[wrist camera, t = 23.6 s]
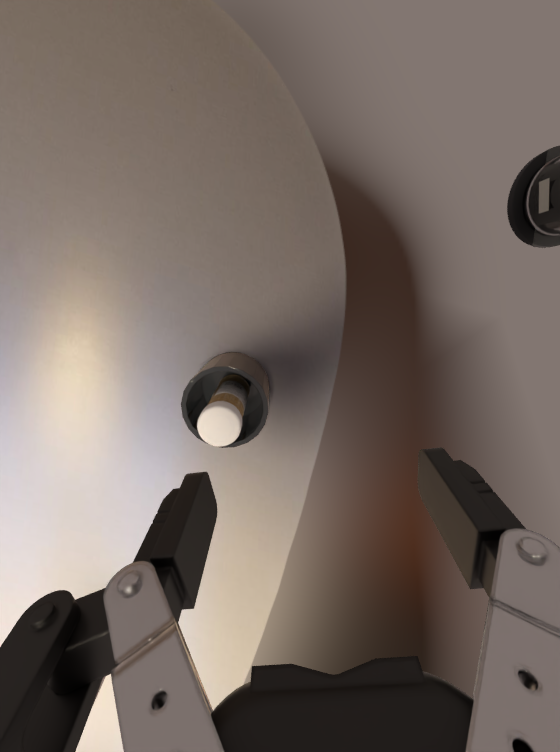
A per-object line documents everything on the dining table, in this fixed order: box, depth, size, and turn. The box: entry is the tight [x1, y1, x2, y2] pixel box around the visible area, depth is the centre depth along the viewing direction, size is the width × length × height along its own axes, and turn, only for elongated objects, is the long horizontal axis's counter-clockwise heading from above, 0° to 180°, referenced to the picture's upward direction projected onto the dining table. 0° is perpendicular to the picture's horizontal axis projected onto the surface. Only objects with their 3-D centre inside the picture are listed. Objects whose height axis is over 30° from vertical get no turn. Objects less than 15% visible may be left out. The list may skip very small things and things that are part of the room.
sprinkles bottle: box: [197, 375, 250, 447], centre depth 38 cm, size 5×5×14 cm
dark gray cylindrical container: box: [181, 352, 269, 448], centre depth 41 cm, size 10×10×9 cm
